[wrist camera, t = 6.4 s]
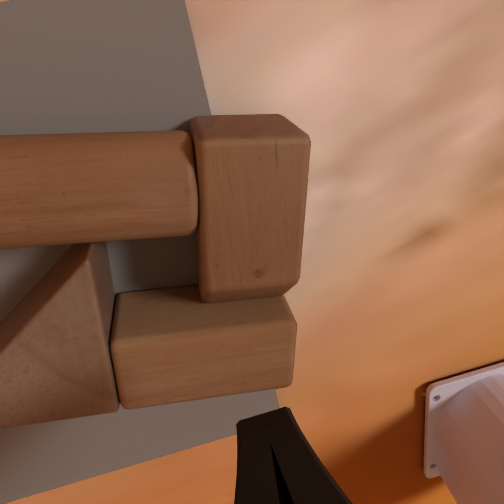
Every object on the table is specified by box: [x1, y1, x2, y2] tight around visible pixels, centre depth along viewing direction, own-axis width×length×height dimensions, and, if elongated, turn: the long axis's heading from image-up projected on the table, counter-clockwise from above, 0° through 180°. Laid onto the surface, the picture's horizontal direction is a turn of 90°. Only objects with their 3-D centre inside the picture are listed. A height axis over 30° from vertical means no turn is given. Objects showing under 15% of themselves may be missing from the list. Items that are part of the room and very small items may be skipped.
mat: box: [0, 0, 279, 504], centre depth 18 cm, size 22×20×1 cm
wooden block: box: [0, 114, 311, 429], centre depth 15 cm, size 4×11×18 cm
